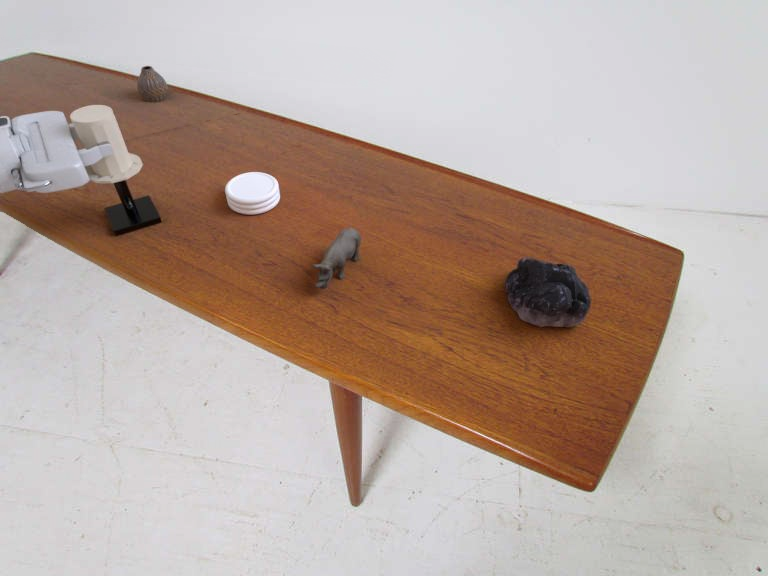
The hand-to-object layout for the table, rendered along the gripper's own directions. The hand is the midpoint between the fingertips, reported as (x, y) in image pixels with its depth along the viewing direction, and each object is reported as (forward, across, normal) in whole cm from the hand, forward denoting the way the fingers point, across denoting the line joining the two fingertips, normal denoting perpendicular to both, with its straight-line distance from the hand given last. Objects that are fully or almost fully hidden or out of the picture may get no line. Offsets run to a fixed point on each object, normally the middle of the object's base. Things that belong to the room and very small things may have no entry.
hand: (107, 137), depth 81 cm
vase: (+15, +45, +16) cm, 50 cm away
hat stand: (-1, 0, +16) cm, 16 cm away
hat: (-1, 0, +6) cm, 6 cm away
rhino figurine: (+24, -32, +16) cm, 43 cm away
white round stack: (+20, -6, +16) cm, 27 cm away
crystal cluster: (+49, -54, +16) cm, 75 cm away
